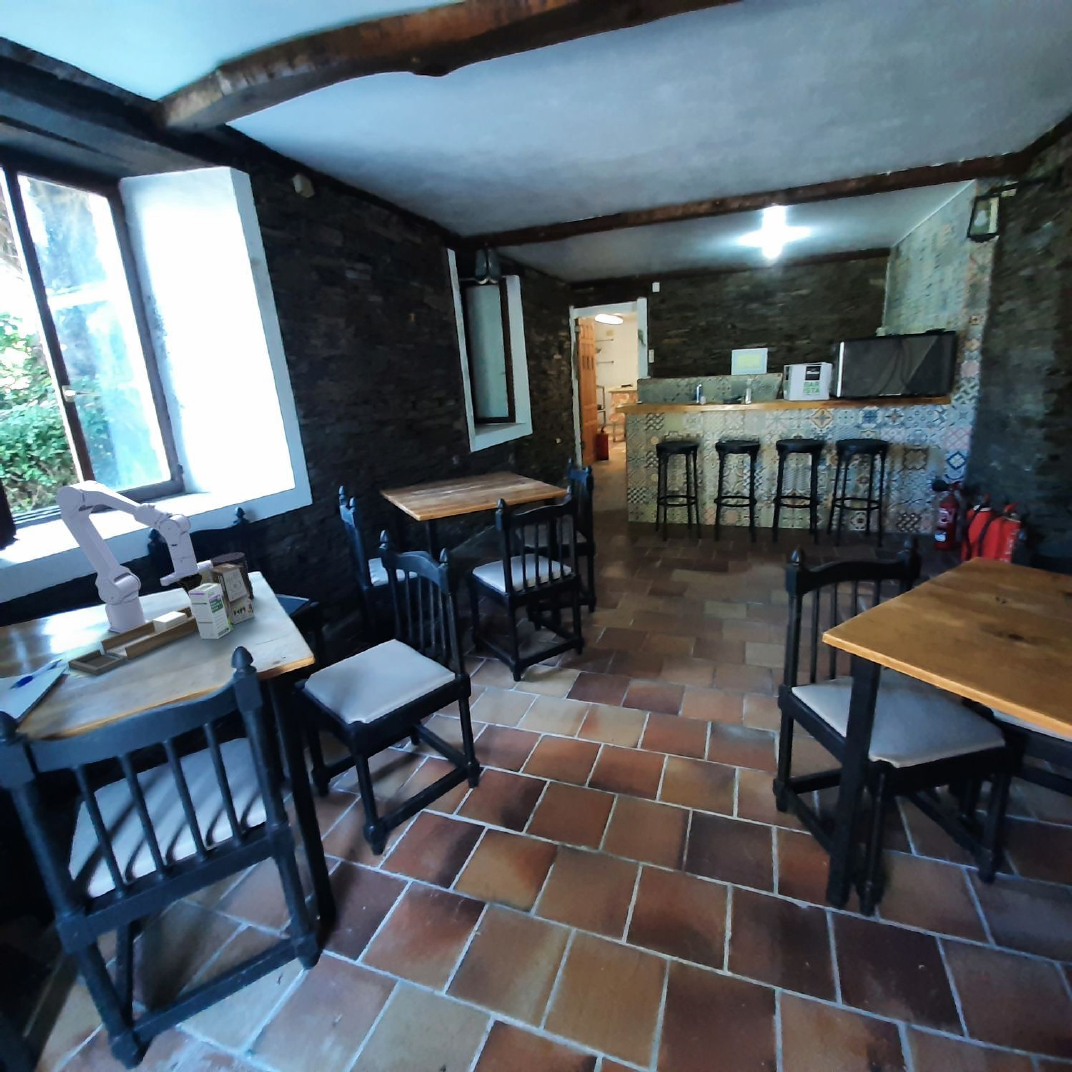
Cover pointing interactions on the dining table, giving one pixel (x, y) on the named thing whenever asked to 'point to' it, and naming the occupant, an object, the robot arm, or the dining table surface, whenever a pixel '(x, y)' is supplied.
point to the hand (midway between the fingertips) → (194, 599)
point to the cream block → (169, 621)
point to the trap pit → (96, 662)
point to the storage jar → (236, 560)
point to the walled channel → (147, 637)
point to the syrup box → (210, 611)
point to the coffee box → (233, 590)
